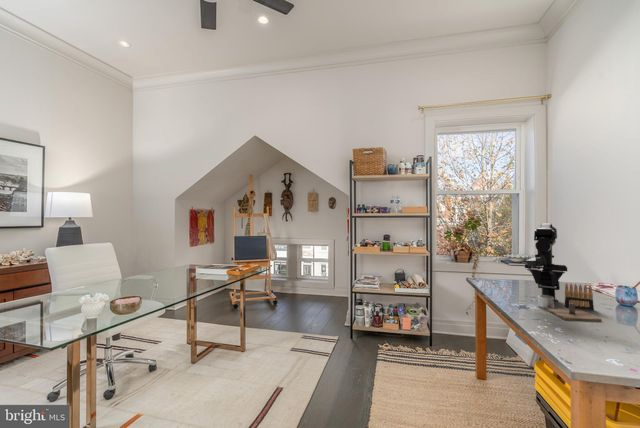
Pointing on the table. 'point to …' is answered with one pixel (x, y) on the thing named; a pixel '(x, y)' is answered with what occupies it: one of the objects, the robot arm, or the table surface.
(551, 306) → the tube
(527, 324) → the table surface
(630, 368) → the table surface
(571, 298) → the ammunition clip
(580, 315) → the post base
